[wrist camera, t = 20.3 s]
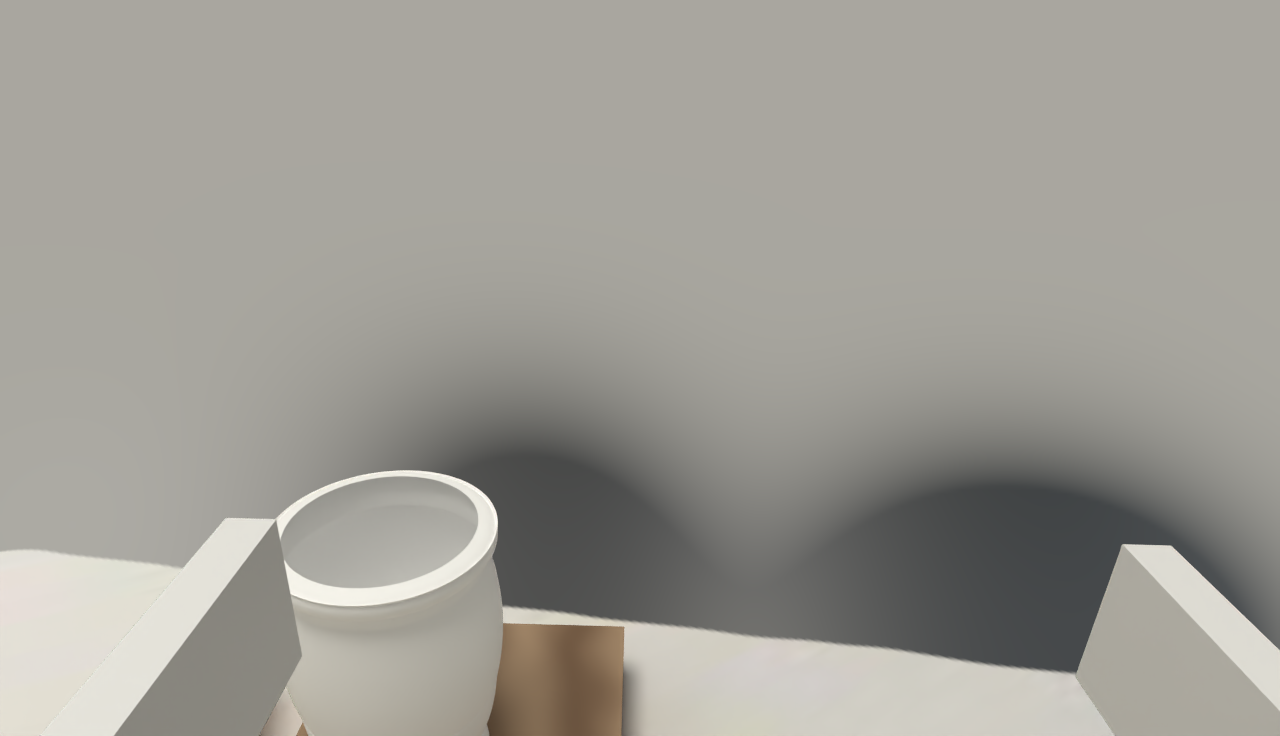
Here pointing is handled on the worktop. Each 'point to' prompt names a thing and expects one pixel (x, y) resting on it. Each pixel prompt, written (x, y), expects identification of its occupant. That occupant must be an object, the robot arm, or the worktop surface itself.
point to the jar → (394, 606)
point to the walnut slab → (557, 681)
